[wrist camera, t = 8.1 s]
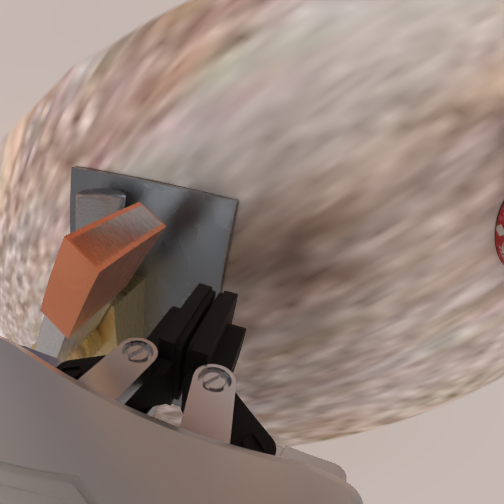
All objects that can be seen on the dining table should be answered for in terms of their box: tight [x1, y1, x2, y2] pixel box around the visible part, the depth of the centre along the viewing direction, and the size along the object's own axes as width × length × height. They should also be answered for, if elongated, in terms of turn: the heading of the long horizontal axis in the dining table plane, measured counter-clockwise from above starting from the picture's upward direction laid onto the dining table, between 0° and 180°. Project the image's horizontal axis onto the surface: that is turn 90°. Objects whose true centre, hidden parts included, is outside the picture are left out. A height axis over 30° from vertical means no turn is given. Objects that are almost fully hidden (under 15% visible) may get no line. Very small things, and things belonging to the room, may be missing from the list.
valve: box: [70, 166, 238, 407], centre depth 22 cm, size 22×14×5 cm, turn 168°
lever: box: [31, 202, 167, 362], centre depth 15 cm, size 14×4×6 cm, turn 140°
